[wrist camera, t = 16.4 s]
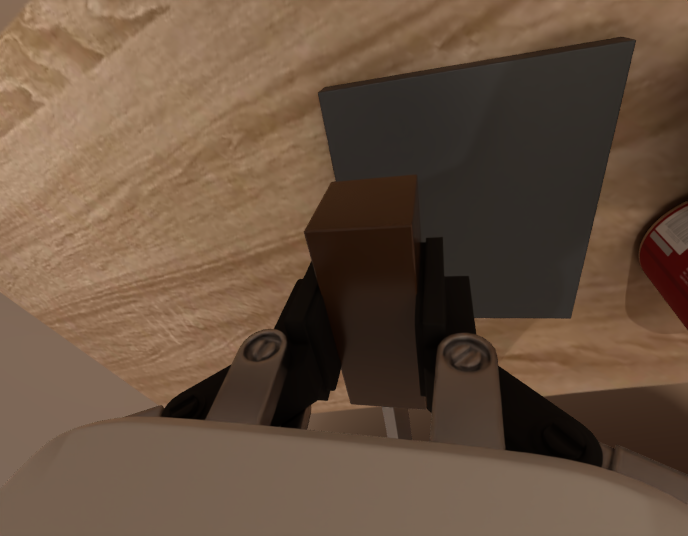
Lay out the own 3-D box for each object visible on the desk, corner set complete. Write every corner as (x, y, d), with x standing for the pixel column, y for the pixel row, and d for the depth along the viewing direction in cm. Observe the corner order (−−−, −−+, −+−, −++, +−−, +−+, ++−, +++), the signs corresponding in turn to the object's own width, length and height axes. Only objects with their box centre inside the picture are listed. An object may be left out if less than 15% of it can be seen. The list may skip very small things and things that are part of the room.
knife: (330, 181, 11) (302, 231, 9) (417, 173, 10) (412, 225, 8) (386, 453, 20) (380, 514, 18) (435, 458, 19) (435, 522, 17)
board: (324, 87, 21) (317, 92, 20) (622, 36, 17) (636, 39, 16) (366, 305, 31) (363, 317, 30) (565, 304, 27) (570, 318, 26)
